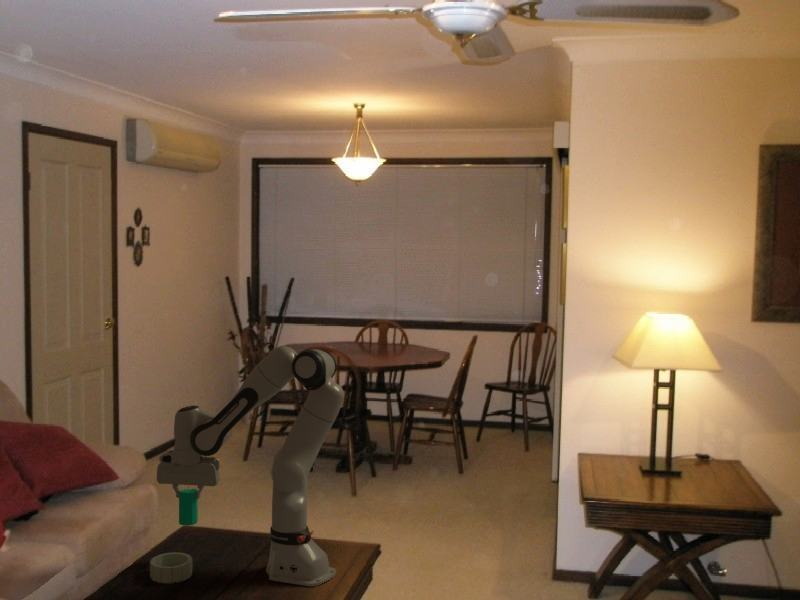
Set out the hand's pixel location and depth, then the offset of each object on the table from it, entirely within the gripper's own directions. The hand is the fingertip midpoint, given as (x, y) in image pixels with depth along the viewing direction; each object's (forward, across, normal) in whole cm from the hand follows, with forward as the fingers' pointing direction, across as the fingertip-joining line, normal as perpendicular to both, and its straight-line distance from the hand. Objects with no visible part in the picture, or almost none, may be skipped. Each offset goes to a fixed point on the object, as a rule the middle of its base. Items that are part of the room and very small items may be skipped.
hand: (188, 497), depth 276 cm
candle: (+8, 0, 0) cm, 8 cm away
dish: (+21, +1, +12) cm, 24 cm away
